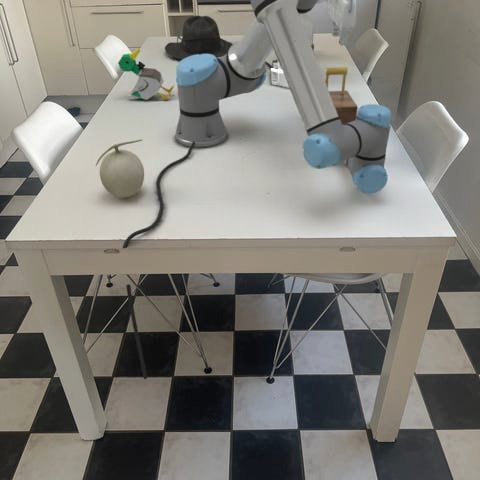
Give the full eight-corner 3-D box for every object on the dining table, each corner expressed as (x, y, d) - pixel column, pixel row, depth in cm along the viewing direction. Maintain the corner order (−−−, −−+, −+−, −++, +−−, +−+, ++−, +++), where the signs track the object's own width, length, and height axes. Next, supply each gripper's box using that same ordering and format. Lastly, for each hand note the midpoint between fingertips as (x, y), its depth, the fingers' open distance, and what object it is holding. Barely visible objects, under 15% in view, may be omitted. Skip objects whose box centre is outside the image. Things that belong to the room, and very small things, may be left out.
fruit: (93, 194, 129) (82, 138, 120) (134, 179, 134) (126, 125, 126) (112, 211, 122) (101, 153, 113) (154, 195, 128) (147, 139, 119)
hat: (239, 41, 247) (238, 8, 239) (231, 62, 218) (230, 27, 210) (174, 40, 250) (171, 9, 242) (157, 62, 221) (153, 26, 213)
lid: (316, 95, 158) (318, 65, 152) (346, 94, 158) (349, 63, 153) (324, 111, 146) (327, 79, 141) (357, 110, 147) (360, 78, 141)
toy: (179, 80, 179) (129, 44, 172) (154, 118, 185) (104, 85, 178) (180, 75, 184) (131, 40, 177) (155, 113, 190) (107, 81, 184)
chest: (315, 124, 162) (317, 96, 157) (344, 123, 163) (347, 95, 157) (322, 141, 152) (324, 111, 146) (353, 140, 152) (357, 110, 147)
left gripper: (408, 138, 129) (385, 107, 146) (309, 141, 128) (297, 110, 146) (403, 164, 133) (381, 131, 151) (307, 168, 133) (296, 135, 150)
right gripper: (364, -7, 129) (358, 49, 137) (347, -20, 146) (342, 31, 154) (339, -6, 129) (335, 50, 137) (324, -20, 146) (321, 32, 154)
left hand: (340, 121), depth 148 cm, fingers open, 13 cm apart
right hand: (338, 40), depth 145 cm, fingers open, 8 cm apart
